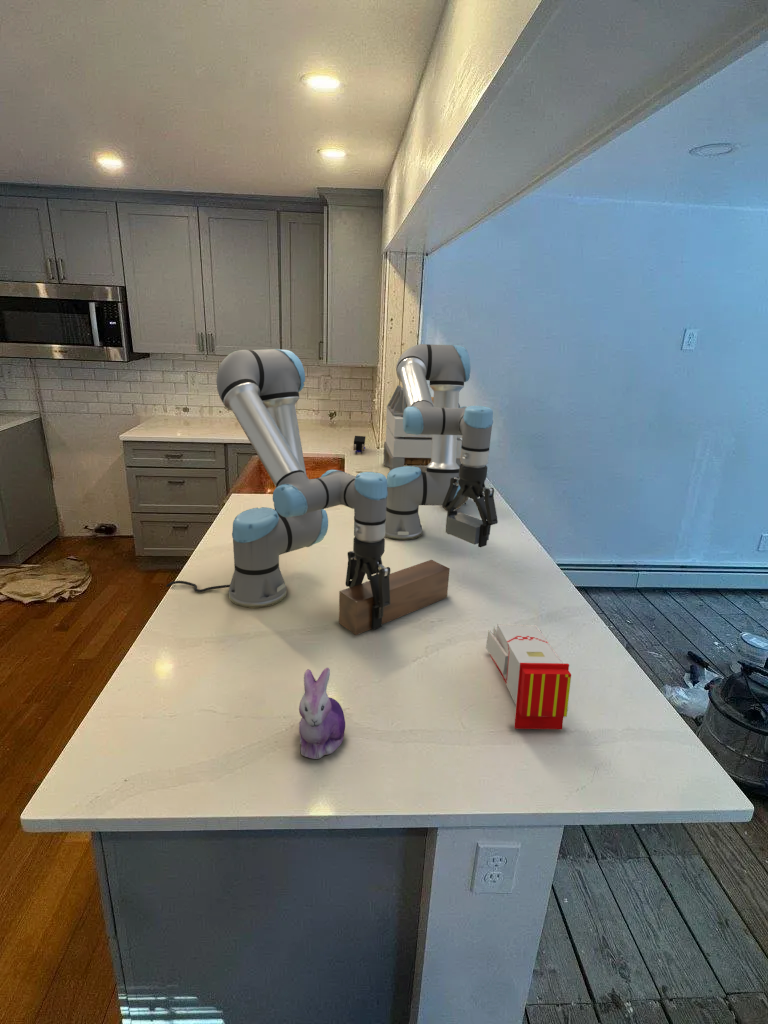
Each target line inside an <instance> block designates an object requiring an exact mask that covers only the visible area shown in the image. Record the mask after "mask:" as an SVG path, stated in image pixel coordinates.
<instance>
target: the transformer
mask: <svg viewBox="0 0 768 1024" xmlns="http://www.w3.org/2000/svg"><path fill="white" fill-rule="evenodd" d="M431 398H432V402H433V400H434V396H431ZM406 407H407V403H406V399H405V394H404V390H403V386H402V385H399V384H398V385H397V386H396V388H395V390H394V392H393V394H392V395H391V398H390V400H389V402H388V404H387V405H386V413H385V414H386V415H385V423H386V428H385V438H384V442H383V466H384V467H388V468H389V471H391V470H392V469H394V468H398V467H403V466H412V467H427V465H428V464H429V463H430V462H431V450H432V435H428V434H420V435H416V434H407V433H405V432H404V430H403V412H404V409H405V408H406ZM460 407H461V405H460V404H459V406H458V408H460ZM461 446H462V435H457V449H456V463H457V465H458V466H459V467H460V464H461V462H460V458H461Z"/></svg>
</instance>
